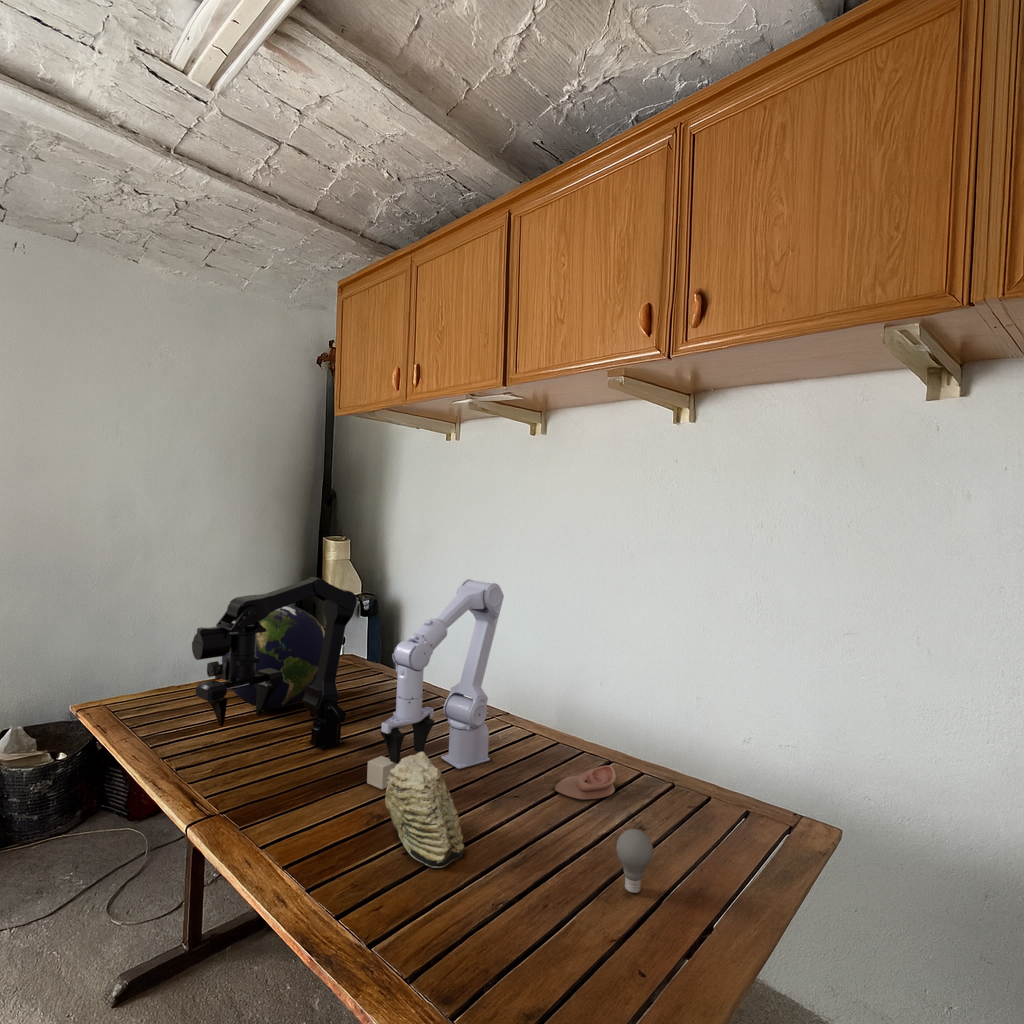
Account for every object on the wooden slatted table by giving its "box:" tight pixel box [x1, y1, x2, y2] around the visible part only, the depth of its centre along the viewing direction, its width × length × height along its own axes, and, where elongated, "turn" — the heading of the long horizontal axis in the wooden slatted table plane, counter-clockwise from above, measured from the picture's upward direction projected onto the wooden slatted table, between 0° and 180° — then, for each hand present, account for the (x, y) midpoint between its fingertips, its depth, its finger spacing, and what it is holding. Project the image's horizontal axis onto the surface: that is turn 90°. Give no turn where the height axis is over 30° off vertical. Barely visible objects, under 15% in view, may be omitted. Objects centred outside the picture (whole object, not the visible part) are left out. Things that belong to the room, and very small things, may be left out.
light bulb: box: [615, 828, 654, 894], centre depth 106 cm, size 6×6×10 cm
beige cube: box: [366, 755, 398, 790], centre depth 141 cm, size 4×5×5 cm
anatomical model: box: [554, 765, 617, 800], centre depth 143 cm, size 13×4×12 cm
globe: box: [221, 605, 325, 709], centre depth 188 cm, size 30×30×30 cm
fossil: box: [384, 751, 466, 869], centre depth 117 cm, size 9×18×15 cm, turn 46°
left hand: (240, 720), depth 145 cm, fingers open, 9 cm apart
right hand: (406, 756), depth 141 cm, fingers open, 7 cm apart
